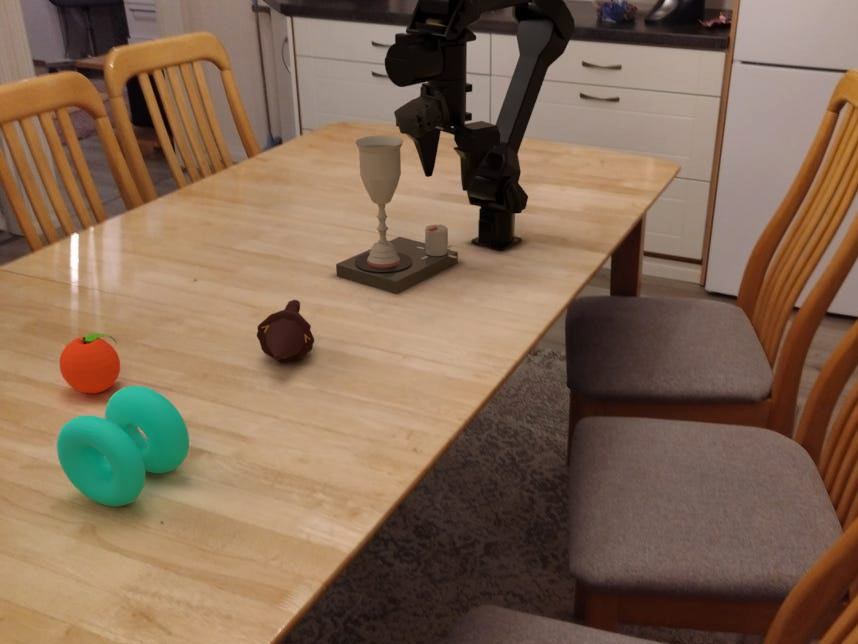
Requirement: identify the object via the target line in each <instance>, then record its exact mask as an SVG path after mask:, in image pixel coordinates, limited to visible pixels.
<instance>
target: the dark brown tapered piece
mask: <svg viewBox="0 0 858 644" xmlns="http://www.w3.org/2000/svg"><path fill="white" fill-rule="evenodd" d="M300 311H301V302H300V301H299V300H297V299H293V300H292V299H291V300H290V301H288V302H287V304H286V305H285V308H284V309H282V310H279V311H276V312H274V313H271V314H269V315H268V316H267V317H266V318H265V319H264V320H262V321H261V322H260V323H259V324H258V325H257V332H256V338H257V340H258V342H259V344H260V348H261V350H262V352H263V354H265V355H266V356H268V357H271V358H272V359H274V360H276V361H277V362H279V363H297V362H300V361H303V359H304V358H305V357H306V356H307V355H308V354H309V353H310V352H311V351H312V350H313V348H314V343H315V338H314V335H313V333H312V330H311V328H312V325H311V324H310V323H309V322H308V321H307V319H305V318H304V317H303V315H302V314H300Z"/></svg>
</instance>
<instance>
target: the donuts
mask: <svg viewBox="0 0 858 644" xmlns="http://www.w3.org/2000/svg"><path fill="white" fill-rule="evenodd" d="M140 430H141V431H142V432H143V434H144V435H145V436H144V435H143V434H142V432H141V431H140ZM189 448H190V436H189V431H188V428H187V424H186V423H185V420H184V418H183V417H182V415H181V412H179V410H178V409H177V408H176V406H175V405H174V404H173V403H172V402H171V401H170V400H169V399H168V398H166V397H165V396H164V395H163V394H161V393H160V392H158V391H156V390H154V389H152V388H150V387H146V386H143V385H142V386H141V385H129V386H125V387H122V388H120V389H119V390H117V391H116V392H114V393H113V394H112V396H110V398H109V400H108V401H107V404H106V406H105V412H104V417H101V416H97V415H88V414H87V415H86V414H85V415H80V416H76V417H73V418H71V419H70V420H68V421H67V422H66V423H65V424H64V425H63V426H62V427H61V429H60V431H59V433H58V436H57V440H56V453H57V458H58V461H59V464H60V466H61V468H62V470H63V472H64V474H65V476H66V477H67V479H68V480H69V481H70V483H71V484H72V485H73V486H74V487H75V489H76V490H78V491H79V493H81V494H82V495H83V496H85V497H86V498H88V499H90V500H92V501H93V502H95V503H97V504H99V505H103V506H107V507H123V506H126V505H128V504H130V503H132V502H134V501H135V500H136V499H138V497H139V496H140V494H141V493H142V491H143V489H144V487H145V483H146V472H147V473H153V474H165V473H169V472H172V471H175V470H176V469H177V468H179V467H180V466H181V465H182V464H183V463H184V461H185V459H186V458H187V455H188V453H189V450H190V449H189Z"/></svg>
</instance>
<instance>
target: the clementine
mask: <svg viewBox="0 0 858 644" xmlns="http://www.w3.org/2000/svg"><path fill="white" fill-rule="evenodd" d="M102 337H108V338H111V339H112V340H113V341H114V343H115V344H118V342H117V341H116V339H115V338H114V337H113V336H111V335H107V334H104V333H92V334H88V335H84V336H79V337H75V338H74V339H72V340H71V341H70V342H68V344H66V345H65V347H64V348H63V350H62V352H61V353H60V357H59V371H60V374H61V376H62V378H63V379H64V381H65V382H66V384H68V386H69V387H71V388H72V389H74V390H75V391H78V392H81V393H84V394H98V393H103V392H104V391H106V390H108V389H109V388H111V387H112V386H113V385H114V384H115V383H116V381H117V380H118V377H119V376H120V371H121V361H120V360H121V359H120V358H119V357H120V356H119V354H118V352H117V351H116V349H115V348H114V347H113V346H112V345H111V344H110V343H109V342H107V340H105V339H103V338H102Z"/></svg>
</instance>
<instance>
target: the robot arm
mask: <svg viewBox="0 0 858 644" xmlns="http://www.w3.org/2000/svg"><path fill="white" fill-rule="evenodd" d="M511 7H512V9H511V16H512V17H513V19H514V21H515V22H516V24H517V25H518V27H517V33H516V41H517V42H516V43H517V47H518V53H519V54H518V55H519V56H518V60H517V62H516V65H515V68H514V71H513V73H512V76H511V79H510V82H509V85H508V88H507V91H506V93H505V96H504V99H503V101H502V105H501V107H500V108H501V109H500V111H499V113H498V115H497V119H496V122H495V124H493V123H490V122H486V121H484V120H479V121H474V122H471V121H473V113H472V112H468V111H467V93H473V83H468V82H467V79H468V78H467V70H468V69H467V66H468V65H467V64H468V62H467V61H468V60H467V59H468V58H467V57H468V43H470V42H475V41H476V40H477V35H476V34H475V33H474V32H473V31H472V30H471V29H470V28H469V27H470V26H471V25H474V24H475V23H477V22H478V21H479V20H480V19H481V16H482V15H484V14H486V13H490V12H495V11H498V10H503V9H508V8H511ZM575 24H576V23H575V18H574V16H573V15H572V13H571V10H570V9H569V8H568V5H567V4H566V2H565V1H564V0H417V2H416V4H415V7H414V9H413V12H412V14H411V17H410V19H409V21H408V24H407V25H406V28H405V32H399V33H395V35H394V41H395V42H394V43H393V44H391V45H390V46H389V48H387V51H386V54H385V57H384V68H385V69H384V70H385V72H386V75H387V77H388V79H389V80H390V82H391V83H392V84H394V86H397V87H399V88H405V87H410V86H415V85H419V84H421V86H420V89H419V92H420V93H419V96H418V97H415V98H413V99H411V100H409V101H408V102H406V103H405V104H403V105H402V106H400V107H398V108H397V109H396V110H394V112H393V114H394V117H395V126H396V127H397V128H398V130H399V133H400V134H402V135H405V136H407V137H408V138H409V139H411V141H412V142H413V144H414V147H415V149H416V152H417V155H418V158H419V161H420V164H421V167H422V170H423V173H424V176H425V177H426V178H430V177H432V176H433V174H434V170H435V165H436V161H437V160H436V159H437V154H438V148H439V143H440V138H441V132H444V133H446V134H450V135H453V141H454V143H455V145H456V146H454V147H453V150H454V152H455V153H456V154H457V155H458V156H459V159H460V161H459V162H460V180H461V189H462V191H464V192H466V195H467V199H468V203H469V205H471V206H475V207H480V208H479V210H478V211H479V212H478V218H479V219H478V227H477V228H478V229H477V230H478V231H477V232H478V233H477V235H478V236H477V237H475V238H472V239H471V241H470V242H471V244H472V245H476V246H480V247H485V248H488V249H492V250H497V251H499V252H500V251H501V252H502V251H505V250H508V249H509V248H511V247H513V246H515V245H517V244H519V243H522V240H523V239H522V237H519V236H516V235H515V227H516V215H517V214H519V215H520V214H521V213H522V212H523V211H524V210H526V208H527V204H528V200H529V196H528V194H527V192H526V191H525V189H524V188H523V187H522V186H521V185H520V183H519V181H520V178H521V174H522V171H521V165H520V159H519V151H520V148H521V145H522V142H523V139H524V137H525V134H526V131H527V128H528V126H529V123H530V121H531V117H532V115H533V112H534V108H535V106H536V104H537V100H538V98H539V95H540V92H541V89H542V86H543V83H544V81H545V77H546V75H547V73H548V69H549V68H550V67H551V65H553V63H555V62H556V61H557V60H558V59H559V58H560V57H562V55H563V54H565V51H566V49H567V46H568V45H569V42H570V40H571V38H572V37H573V35H574V31H575V26H576V25H575ZM466 122H469V123H466Z"/></svg>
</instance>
